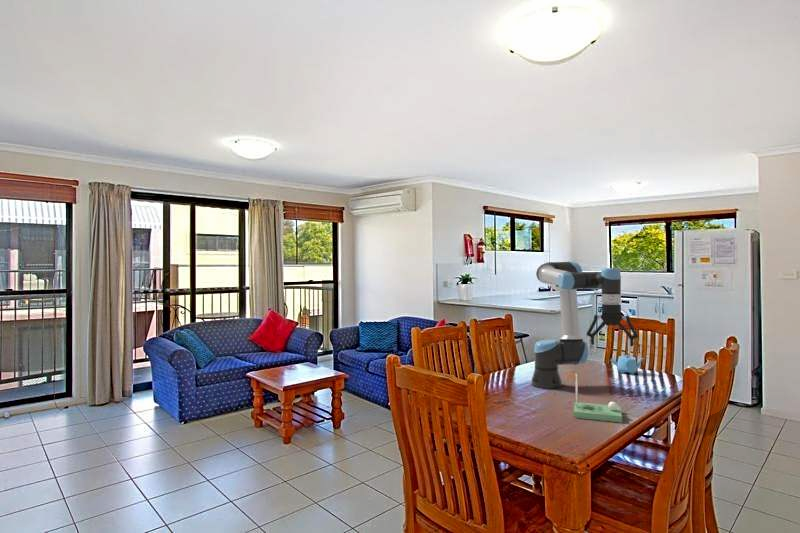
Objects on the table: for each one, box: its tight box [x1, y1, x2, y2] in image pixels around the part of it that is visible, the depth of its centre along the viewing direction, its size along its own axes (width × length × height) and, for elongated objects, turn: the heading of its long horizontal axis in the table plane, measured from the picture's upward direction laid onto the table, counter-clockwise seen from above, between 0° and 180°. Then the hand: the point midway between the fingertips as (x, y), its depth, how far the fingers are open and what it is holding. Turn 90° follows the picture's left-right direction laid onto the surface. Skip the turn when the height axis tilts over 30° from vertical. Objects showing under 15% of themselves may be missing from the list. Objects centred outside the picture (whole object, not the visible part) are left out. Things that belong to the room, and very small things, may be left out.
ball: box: [607, 401, 619, 411], centre depth 192 cm, size 4×4×4 cm
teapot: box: [610, 354, 645, 375], centre depth 268 cm, size 18×14×10 cm
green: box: [567, 372, 623, 423], centre depth 195 cm, size 21×14×16 cm
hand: (611, 353), depth 200 cm, fingers open, 13 cm apart
